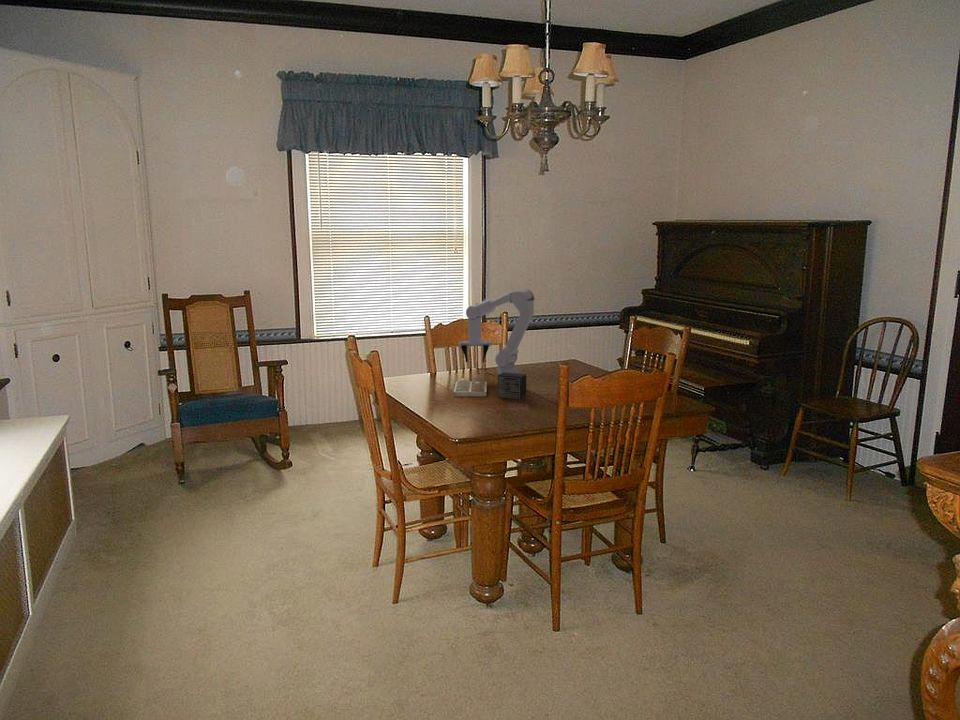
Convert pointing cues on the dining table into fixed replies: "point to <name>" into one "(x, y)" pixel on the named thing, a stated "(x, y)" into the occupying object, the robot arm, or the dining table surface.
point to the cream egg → (463, 383)
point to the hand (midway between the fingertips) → (475, 361)
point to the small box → (512, 385)
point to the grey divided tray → (469, 390)
